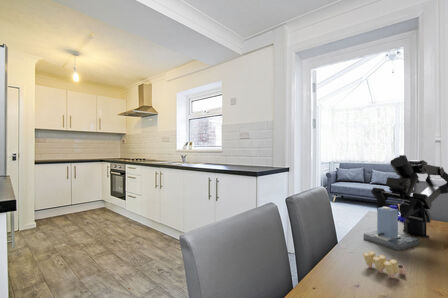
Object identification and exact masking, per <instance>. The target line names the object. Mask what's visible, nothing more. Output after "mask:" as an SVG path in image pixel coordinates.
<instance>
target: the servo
mask: <svg viewBox="0 0 448 298" xmlns="http://www.w3.org/2000/svg"><path fill="white" fill-rule="evenodd" d="M397 209H398V208H397ZM397 209H393V208H389V206H383V207H381V208H377V207H376V211H377V213H376V215H377V216H376V217H377V222H376V224H377V227H376V228H377V230H376V231H377V235H374V237H377V238H380V239H383V240H386V241H394V240H397V239H398V238H400V237H401V236H400V235H398V233H399V220H398V213H399V209H398V210H397Z"/></svg>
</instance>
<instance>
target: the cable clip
mask: <svg viewBox="0 0 448 298" xmlns="http://www.w3.org/2000/svg"><path fill="white" fill-rule="evenodd" d="M388 207H389V208H393V209H397V210H398V211H399V209H398V205H389V206H388ZM398 215H400V216H398V221H399V220H400V221H399V222H401V221H402V222H401V223H403V222H404V221H405V218H402V217H401V214H400V212H398Z"/></svg>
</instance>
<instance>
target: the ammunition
mask: <svg viewBox="0 0 448 298" xmlns="http://www.w3.org/2000/svg"><path fill="white" fill-rule="evenodd" d="M362 256H363V259H364V261H365V264H366V266H367V267H368V268H369V269H372V268H373V264H374V266H375V268H376V270H377V272H378V273H379V274H383V272H384V270H383V269H385V271H386V273H387V275H388V277H389V278H390V279H395V274H401V275H402V276H403V275H405V274H406V269H405V266H404V265H403V264H398V261H397V259H393V258H392V259H389V260H387V258H386V256H385V255H383V254H380V255H377V254H376V252H375V251H373V250H370V251H368V252H367V251H366V252H363V253H362Z"/></svg>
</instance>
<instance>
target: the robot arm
mask: <svg viewBox="0 0 448 298" xmlns="http://www.w3.org/2000/svg"><path fill="white" fill-rule="evenodd" d="M389 162H390V163H389V164H390V165H391V167H392V168H393V171H394V173H395V174H396V176H399V177H397V178H396V177H386V182H385V186H388V189H389V192H388V191H386V190H385V189H384V188H382V187H376V186H375V187H372V189H371V190H370V193H371V194H372V196H373V197H374V198H375V200H376V209H377V208H381V207H385V205H386V204H387V201H388V198H389V199H396V200H398V201H402V202H400V204H399V209H398V210H399V214H400V216H401V217H402V218H405V221H404V223H403V229H402V231H403V232H404V233H405V234H406V235H408V236H411V237H421V238H430V235H429V234H427V224H428V223H429V224H430V223H431V221H432V215H431V214H430V212H429V210H431V208H432V205H433V204H432V203H433V202H434V201H435V200H436V199H438V197H439V196H440V195H444V194H446V195H447V194H448V172H446V171H445V169H444V167H442V166H438V165H437V166H436V165H431V164H428V162H427V161H425V160H422V159H408V158H407V156H406V155H405V154H402V155H399V156H397V157H394V158H393V159H391V160H390V161H389ZM424 174H427V177H426V179H425V182H426V185H427V187H426V188H425V189H424V190H423V191H421V192H420V193H418V192H415V189H414V188H415V186H416V184H420V179H419V176H418V175H424ZM431 176H439V177H440V178H439V177H431Z"/></svg>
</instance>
